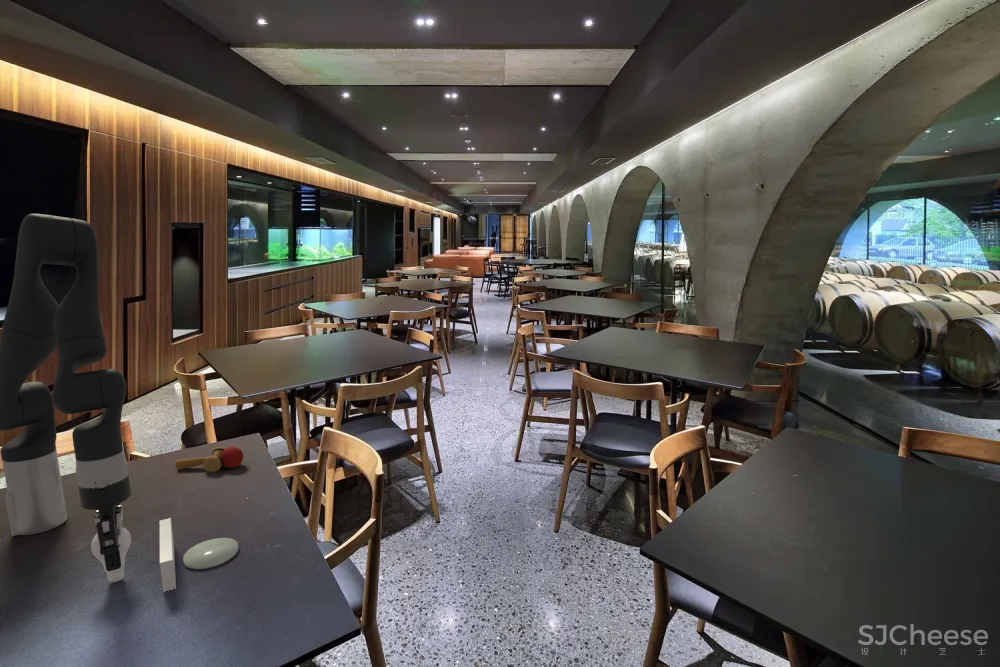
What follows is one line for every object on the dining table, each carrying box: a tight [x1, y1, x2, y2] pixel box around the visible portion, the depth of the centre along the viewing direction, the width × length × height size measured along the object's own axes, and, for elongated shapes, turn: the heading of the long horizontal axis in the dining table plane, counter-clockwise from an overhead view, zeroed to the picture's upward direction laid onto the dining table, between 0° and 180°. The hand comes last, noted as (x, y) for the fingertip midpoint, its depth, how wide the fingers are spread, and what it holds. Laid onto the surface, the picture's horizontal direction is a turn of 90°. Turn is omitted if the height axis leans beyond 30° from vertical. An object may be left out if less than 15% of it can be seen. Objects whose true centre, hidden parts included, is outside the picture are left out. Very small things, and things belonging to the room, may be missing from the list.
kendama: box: [174, 446, 244, 472], centre depth 152 cm, size 8×6×18 cm
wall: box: [159, 517, 177, 593], centre depth 105 cm, size 2×18×6 cm, turn 33°
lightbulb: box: [90, 526, 132, 583], centre depth 100 cm, size 6×6×11 cm
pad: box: [183, 537, 239, 570], centre depth 109 cm, size 10×10×1 cm
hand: (115, 557), depth 100 cm, fingers open, 8 cm apart
